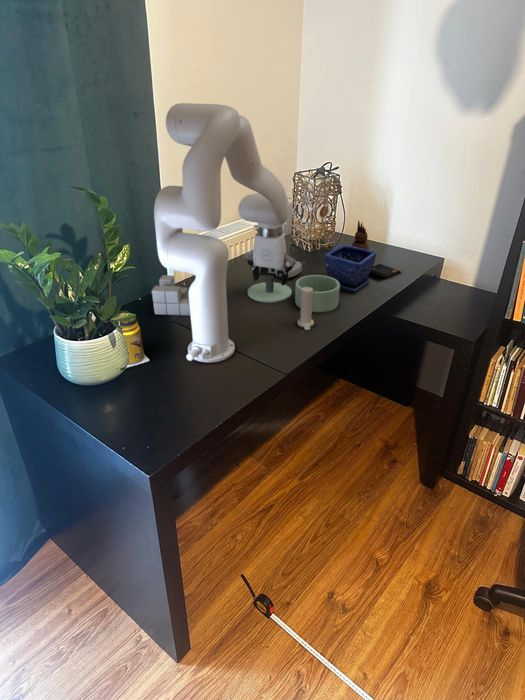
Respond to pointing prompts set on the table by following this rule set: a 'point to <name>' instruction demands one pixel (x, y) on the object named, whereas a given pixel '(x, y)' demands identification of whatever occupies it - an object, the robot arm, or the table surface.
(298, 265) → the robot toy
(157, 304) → the puzzle cube
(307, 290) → the beige flanged cylinder
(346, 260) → the flower pot
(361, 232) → the wooden figurine
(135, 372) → the table surface
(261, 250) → the robot arm
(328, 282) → the bowl
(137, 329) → the condiment
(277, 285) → the lid
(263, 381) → the table surface
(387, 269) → the calculator
